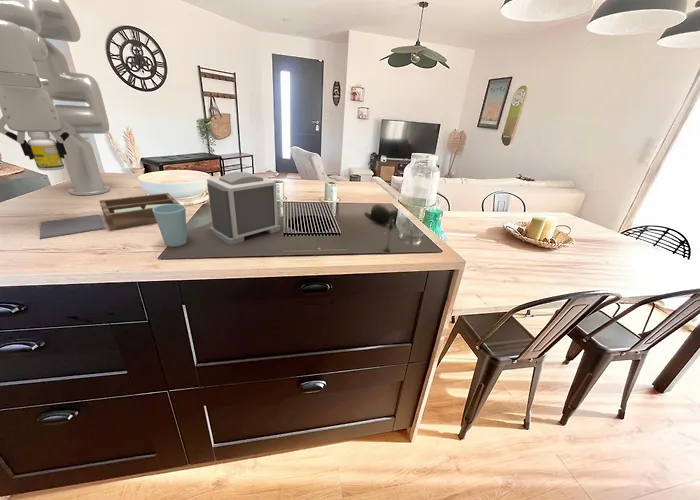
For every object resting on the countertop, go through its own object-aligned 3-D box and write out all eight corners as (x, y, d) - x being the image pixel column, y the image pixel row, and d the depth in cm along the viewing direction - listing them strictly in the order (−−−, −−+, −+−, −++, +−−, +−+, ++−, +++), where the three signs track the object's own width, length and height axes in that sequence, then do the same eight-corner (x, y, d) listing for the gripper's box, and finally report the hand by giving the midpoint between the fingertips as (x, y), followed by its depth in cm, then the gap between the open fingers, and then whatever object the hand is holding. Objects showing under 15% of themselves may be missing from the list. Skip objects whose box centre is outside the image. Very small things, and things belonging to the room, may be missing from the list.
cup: (173, 235, 87) (166, 202, 83) (197, 239, 86) (191, 205, 82) (154, 246, 81) (145, 210, 76) (179, 250, 80) (171, 214, 75)
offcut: (117, 223, 93) (113, 210, 91) (143, 219, 97) (140, 206, 95) (119, 227, 90) (115, 213, 88) (146, 223, 94) (142, 210, 92)
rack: (103, 215, 98) (99, 200, 95) (170, 205, 110) (168, 193, 108) (110, 231, 87) (105, 215, 85) (183, 219, 100) (181, 204, 97)
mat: (41, 223, 88) (40, 221, 88) (99, 215, 97) (99, 214, 97) (40, 239, 79) (39, 237, 79) (105, 228, 88) (104, 227, 88)
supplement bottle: (33, 168, 79) (17, 130, 75) (57, 166, 84) (44, 129, 79) (46, 171, 78) (31, 132, 73) (69, 168, 82) (56, 131, 78)
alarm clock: (259, 219, 105) (256, 167, 97) (282, 230, 97) (280, 175, 89) (208, 231, 92) (199, 173, 84) (230, 245, 85) (222, 182, 76)
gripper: (66, 85, 79) (87, 154, 87) (-33, 77, 69) (2, 157, 76) (67, 85, 74) (89, 158, 82) (-39, 77, 64) (-1, 162, 72)
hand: (47, 157), depth 79 cm, fingers closed on supplement bottle, 5 cm apart
